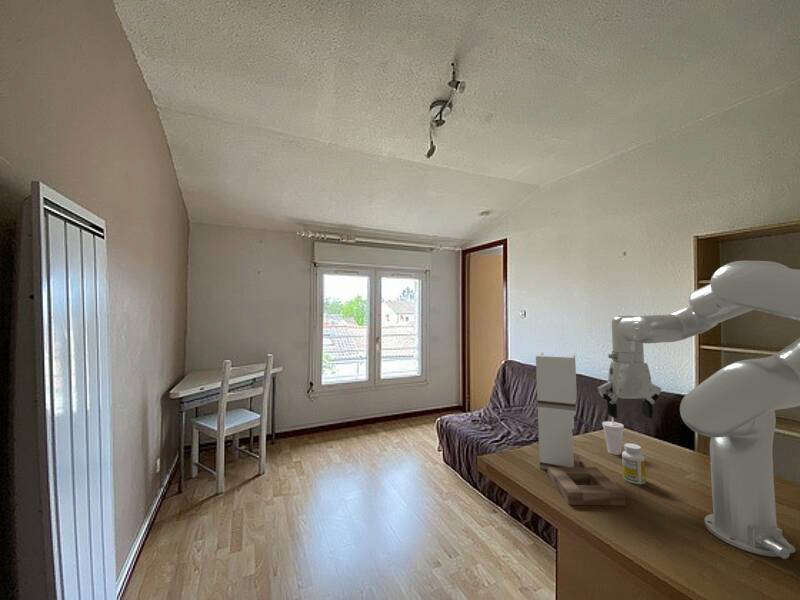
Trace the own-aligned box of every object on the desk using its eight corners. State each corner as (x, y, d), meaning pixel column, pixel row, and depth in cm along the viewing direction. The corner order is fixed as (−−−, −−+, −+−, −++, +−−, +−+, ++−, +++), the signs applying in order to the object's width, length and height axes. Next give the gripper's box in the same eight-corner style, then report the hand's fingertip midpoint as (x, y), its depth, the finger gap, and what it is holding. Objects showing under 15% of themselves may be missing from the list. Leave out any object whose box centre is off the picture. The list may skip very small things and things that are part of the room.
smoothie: (625, 451, 115) (623, 410, 116) (625, 458, 110) (623, 415, 110) (603, 447, 119) (601, 407, 119) (603, 454, 113) (601, 412, 114)
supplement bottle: (638, 475, 98) (636, 442, 98) (650, 485, 93) (648, 449, 93) (619, 475, 98) (617, 442, 99) (629, 484, 93) (628, 449, 93)
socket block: (625, 505, 83) (625, 493, 83) (568, 504, 84) (568, 492, 84) (596, 477, 97) (596, 467, 97) (547, 477, 98) (547, 466, 98)
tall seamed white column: (578, 476, 98) (573, 357, 100) (539, 468, 104) (535, 356, 105) (579, 461, 108) (575, 353, 110) (544, 454, 114) (540, 352, 115)
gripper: (604, 359, 94) (606, 420, 93) (668, 359, 93) (670, 421, 92) (590, 356, 101) (592, 412, 101) (650, 355, 100) (652, 412, 100)
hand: (630, 416), depth 97 cm, fingers open, 9 cm apart
